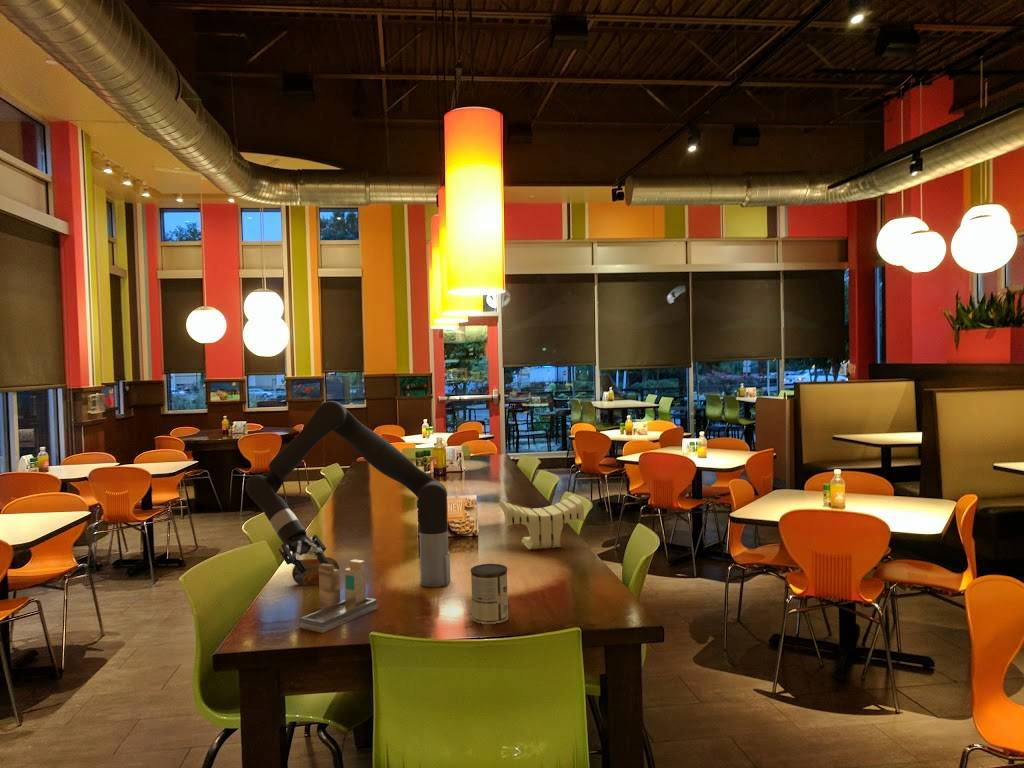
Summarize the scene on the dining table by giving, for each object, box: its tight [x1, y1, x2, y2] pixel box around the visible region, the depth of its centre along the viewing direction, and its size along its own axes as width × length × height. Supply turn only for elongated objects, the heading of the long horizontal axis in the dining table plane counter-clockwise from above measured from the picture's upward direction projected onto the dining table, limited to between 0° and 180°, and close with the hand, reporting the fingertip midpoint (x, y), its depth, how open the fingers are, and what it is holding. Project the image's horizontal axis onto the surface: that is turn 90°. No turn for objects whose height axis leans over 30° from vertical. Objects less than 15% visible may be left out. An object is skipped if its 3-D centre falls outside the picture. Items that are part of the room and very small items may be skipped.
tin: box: [291, 556, 340, 586], centre depth 243 cm, size 15×3×8 cm, turn 105°
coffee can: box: [470, 563, 509, 625], centre depth 205 cm, size 10×10×14 cm
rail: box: [299, 558, 378, 634], centre depth 208 cm, size 22×8×14 cm, turn 149°
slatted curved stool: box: [498, 494, 585, 550], centre depth 286 cm, size 30×16×18 cm, turn 101°
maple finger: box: [318, 563, 341, 610], centre depth 217 cm, size 4×4×13 cm
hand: (315, 568), depth 220 cm, fingers open, 8 cm apart
